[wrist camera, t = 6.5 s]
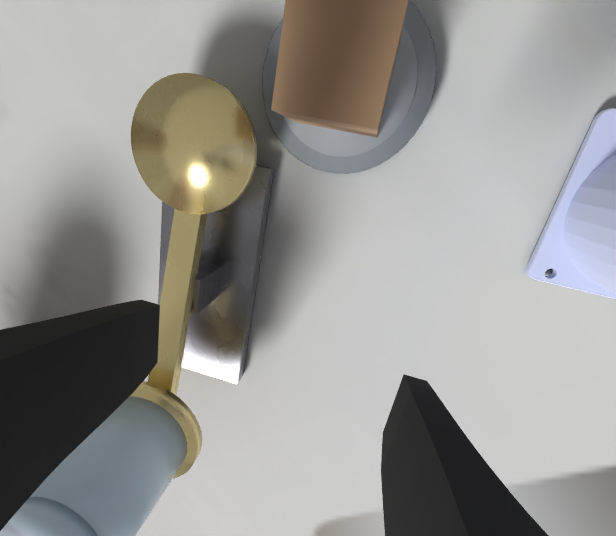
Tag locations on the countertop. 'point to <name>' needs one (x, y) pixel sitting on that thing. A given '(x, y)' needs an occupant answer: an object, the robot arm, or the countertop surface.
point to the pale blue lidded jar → (107, 477)
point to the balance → (201, 233)
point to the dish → (396, 117)
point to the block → (337, 62)
